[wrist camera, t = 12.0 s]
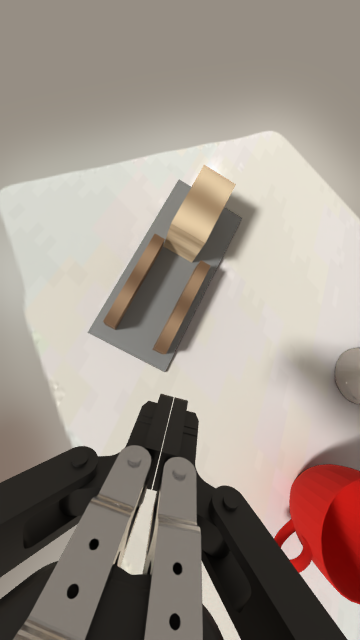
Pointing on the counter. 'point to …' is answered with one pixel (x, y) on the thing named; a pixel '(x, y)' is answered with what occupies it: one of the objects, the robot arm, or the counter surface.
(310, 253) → the counter surface
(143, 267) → the chute rails
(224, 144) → the counter surface
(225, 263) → the counter surface
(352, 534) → the ceramic cup
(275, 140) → the counter surface
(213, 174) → the oak block
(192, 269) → the chute board
